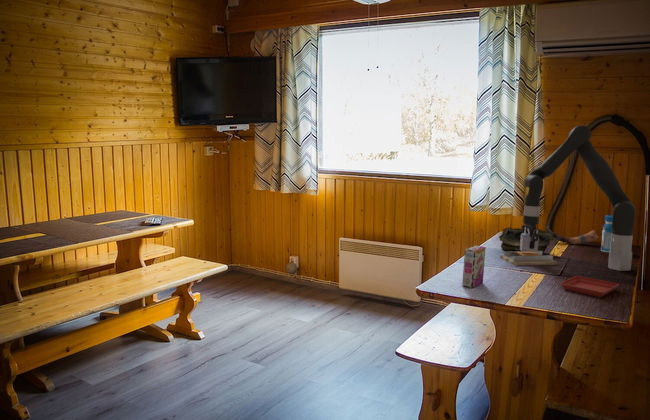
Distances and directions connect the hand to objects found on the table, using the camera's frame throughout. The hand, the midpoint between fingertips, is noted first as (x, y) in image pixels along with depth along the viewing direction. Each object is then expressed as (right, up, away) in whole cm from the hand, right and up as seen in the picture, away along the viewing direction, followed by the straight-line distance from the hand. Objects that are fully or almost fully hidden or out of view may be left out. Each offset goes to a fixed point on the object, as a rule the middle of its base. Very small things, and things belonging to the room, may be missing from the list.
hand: (528, 247), depth 283 cm
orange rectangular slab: (0, -4, 0) cm, 4 cm away
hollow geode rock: (+6, -4, +22) cm, 23 cm away
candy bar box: (-40, -14, -42) cm, 60 cm away
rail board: (0, -7, +1) cm, 7 cm away
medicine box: (0, -2, 0) cm, 2 cm away
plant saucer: (+9, -16, -46) cm, 50 cm away
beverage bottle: (+54, -4, +27) cm, 61 cm away
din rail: (0, -6, +1) cm, 6 cm away
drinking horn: (+41, -1, +45) cm, 61 cm away
